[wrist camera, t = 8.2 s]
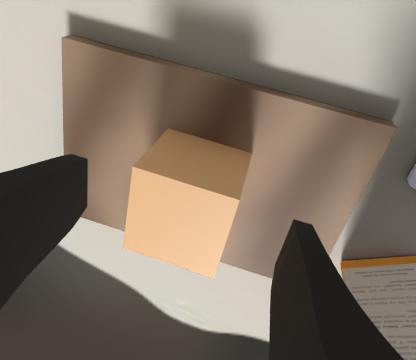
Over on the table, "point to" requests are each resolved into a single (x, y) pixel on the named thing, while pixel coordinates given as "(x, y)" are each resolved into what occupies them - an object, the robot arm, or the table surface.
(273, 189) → the walnut board
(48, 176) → the robot arm
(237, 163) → the orange cube
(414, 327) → the supplement box
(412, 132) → the table surface
